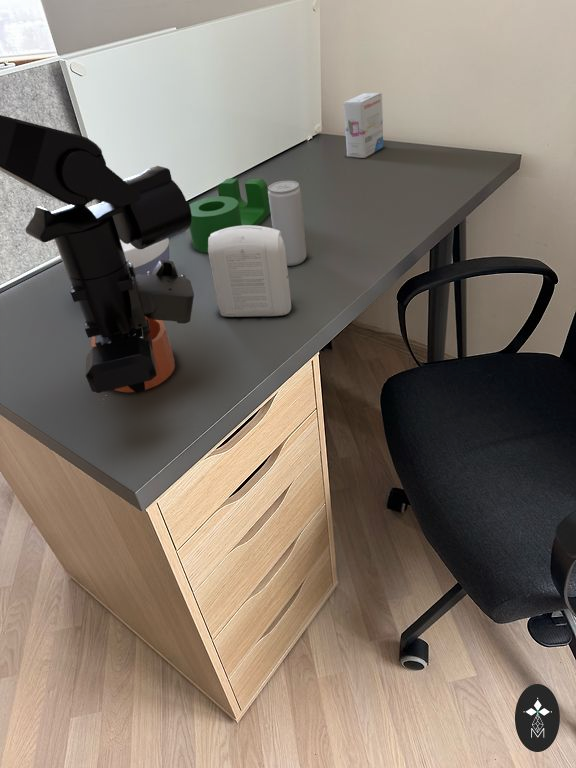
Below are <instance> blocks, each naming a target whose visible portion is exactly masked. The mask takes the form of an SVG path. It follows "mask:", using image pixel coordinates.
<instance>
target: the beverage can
mask: <svg viewBox="0 0 576 768" xmlns="http://www.w3.org/2000/svg"><path fill="white" fill-rule="evenodd" d="M267 189H268V196H269V204H270V212H271V213H270V217H271V218H270V219H271V225H272V227H271V228H273V229H276V230H279V231H280V232H281V235H282V239H283V241H284V245H285V252H286V261H287V267H289V266H290V267H293V266H297V265H300V264H302V263H304V261H305V260H306V258H307V247H306V246H307V245H306V236H305V225H304V224H305V223H304V213H303V202H302V193H301V188H300V184H299V182H298V181H295V180H279V181H276V182H273V183H271V184H270V185H268V186H267Z"/></svg>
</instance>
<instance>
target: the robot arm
mask: <svg viewBox="0 0 576 768" xmlns="http://www.w3.org/2000/svg"><path fill="white" fill-rule="evenodd" d="M0 171H1V172H2V173H4V174H6V175H7V176H8V177H11V178H13V179H15V180H16V181H18V182H20V183H21V184H23V185H25V186H27V187H28V188H30V189H31V190H34V191H36V192H37V193H40V194H42V195H44V196H47V197H50V198H52V199H55V200H57V201H59V202H62V203H64V204H66V205H67V206H64V207H61V208H59V209H56V210H54V211H50V210H48V209H46V208H44V207H41V206H40V205H39V206H36V207H35V208H34V209H35V210H34V214H33V216H32V218H31V219H30V220H29V222H28V224H27V226H26V227H25V233H26V234H27V235H29V236H31V237H33V238H34V239H36V240H38V241H40V242H42V243H49V242H50V241H52V240H54V242H55V245H56V248H57V247H58V250H59V252H60V254H59V256H60V255H61V256H60V259H61V258H62V259H61V260H63V261H62V263H63V265H64V268H65V271H66V274H67V276H68V278H69V281H70V295H71V298H72V300H73V302H74V303H76V302H78V304H79V308H80V309H81V312H82V315H83V317H84V331H85V334H86V336H87V338H92V337H93V336H95V345H96V346H95V347H91V348H90V350H89V352H88V354H87V355H86V358H85V362H86V363H85V377H86V380H87V383H88V385H89V388H90V390H91V392H93V393H96V394H101V393H105V392H109V391H114V390H113V389H117V388H121V387H125V386H128V387H129V388H131V389H132V390H133V391H134V392H133V393H136V394H138V393H142V392H145V391H146V390H145V383H144V382H145V381H149V380H152V379H153V378H154V377H156V376H157V372H156V365H155V360H154V356H153V351H152V349H153V347H152V340H151V337H148V338H147V336H148V335H149V333H150V326H149V320H147V319H146V317H147V318H149V319H153V320H162V321H166V322H167V321H169V322H176V323H177V324H187V323H190V322H191V320H192V319H191V318H192V311H193V306H194V305H193V304H194V299H195V298H194V297H195V291H194V288H193V285H192V282H191V280H190V279H189V278H187V276H186V274H181V275H180V276H179V273H178V270H177V268H176V265H175V263H174V261H173V260H169V261H166V260H160V261H159V262H158V264H157V265H156V267H155V268H154V269H153V271H152V273H151V272H150V271H148V272H147V275H139V274H135V271H134V267H133V264H129V261H128V260H127V261H126V258H125V254H124V251H123V248H122V245H121V242H120V240H121V241H122V242H124V243H125V244H129V243H130V244H131V245H133V246H134V247H135V248H137V249H144V248H146V247H149V246H151V245H153V244H155V243H158V242H160V241H162V240H165V239H167V238H168V239H169V238H171V237H174V236H176V235H178V234H181V233H183V232H185V231H187V230H190V228H189V227H190V225H191V222H192V215H191V209H190V203H189V202H188V201H187V198H186V197H185V195H184V193H183V191H182V189H181V187H180V186H179V185H178V184H177V183H176V181H174V180H173V179H172V174H171V170H170V168H168V167H164V166H160V165H154V166H151V167H149V168H148V169H146V170H145V171H143V172H141V173H139V174H136V175H134V176H131V177H128V178H125V179H123V178H122V177H121V176H120V175H118V174H117V173H115V172H114V171H113V170H112V169H111V168H110V167H108V166H107V163H106V159H105V157H104V155H103V151H102V148H101V147H100V146H99V145H98V144H97V143H95V142H94V141H93V140H91V139H90V138H88V137H86V136H83V135H79V134H76V133H73V132H68V131H64V130H61V129H57V128H54V127H49V126H45V125H41V124H38V123H35V122H34V123H33V122H30V121H26V120H21V119H17V118H13V117H9V116H6V115H2V114H0ZM94 200H96V201H99V202H100V201H101V202H100V203H97V204H93V205H89V206H87V205H88V204H89V203H91V202H93V201H94ZM58 250H57V251H58ZM59 252H58V253H59ZM145 316H146V317H145Z"/></svg>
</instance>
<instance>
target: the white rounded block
mask: <svg viewBox="0 0 576 768" xmlns="http://www.w3.org/2000/svg"><path fill="white" fill-rule="evenodd" d="M207 254H208V258H209V263H210V267H211V273H212V279H213V283H214V288H215V293H216V298H217V304H218V309H219V313H220V315H221V316H222V317H230V318H231V317H232V318H233V317H237V318H238V317H239V318H240V317H279V316H285V315H286V316H287V314H289V313H290V312H291V310H292V301H291V291H290V290H291V289H290V279H289V271H288V266H287V261H286V252H285V245H284V241H283V239H282V235H281V232H280V231H279V230H276V229H273V227H268V226H264V225H263V226H261V225H259V226H252V225H244V226H234V227H229V228H225V229H222V230H219V231H216V232H214V233H212V234H211V235H210V237H209V238H208V253H207Z"/></svg>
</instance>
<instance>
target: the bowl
mask: <svg viewBox="0 0 576 768" xmlns="http://www.w3.org/2000/svg"><path fill="white" fill-rule="evenodd" d="M120 242H121V245H122V248H123V251H124V254H125V258H126V261H127V260H128V261H129V264H133V267H134V271H135V274H139V275H147V272H148V271H150V272H151V273H152V271H153V269H154V268H155V267H156V265H157V264H158V262H159V261H160V260H166V261H170V257H171V256H170V240H169V238H167V239H165V240H162V241H160V242H158V243H155V244H153V245H151V246H149V247H146V248H144V249H137V248H135V247H134V246H133V245H131V244H130V243H129V244H125V243H124V242H122V241H121V240H120ZM56 249H57V253H58V255H59V256H60V259H61V260H62V258H61V255H60V252H59V250H58V247H57V246H56ZM62 262H63V260H62Z"/></svg>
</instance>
